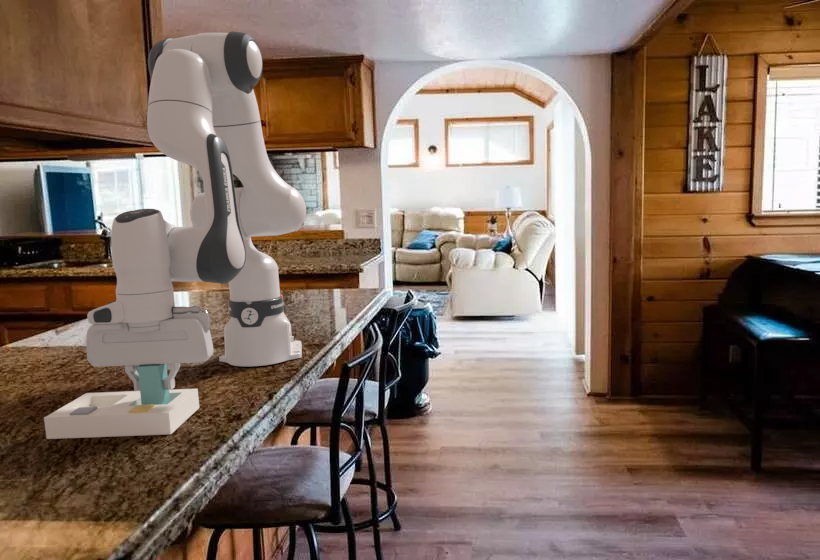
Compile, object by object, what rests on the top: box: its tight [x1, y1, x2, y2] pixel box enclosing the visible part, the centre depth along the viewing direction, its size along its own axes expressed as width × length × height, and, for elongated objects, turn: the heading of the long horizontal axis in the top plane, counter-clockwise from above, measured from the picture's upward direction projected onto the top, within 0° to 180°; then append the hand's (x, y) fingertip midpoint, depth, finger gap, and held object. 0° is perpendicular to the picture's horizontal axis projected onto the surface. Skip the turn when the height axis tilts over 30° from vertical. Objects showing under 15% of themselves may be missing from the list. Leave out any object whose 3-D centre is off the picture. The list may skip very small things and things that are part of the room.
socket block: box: [43, 388, 200, 440], centre depth 111 cm, size 13×20×4 cm, turn 88°
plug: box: [137, 364, 170, 405], centre depth 111 cm, size 3×3×8 cm
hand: (154, 389), depth 111 cm, fingers closed on plug, 3 cm apart
